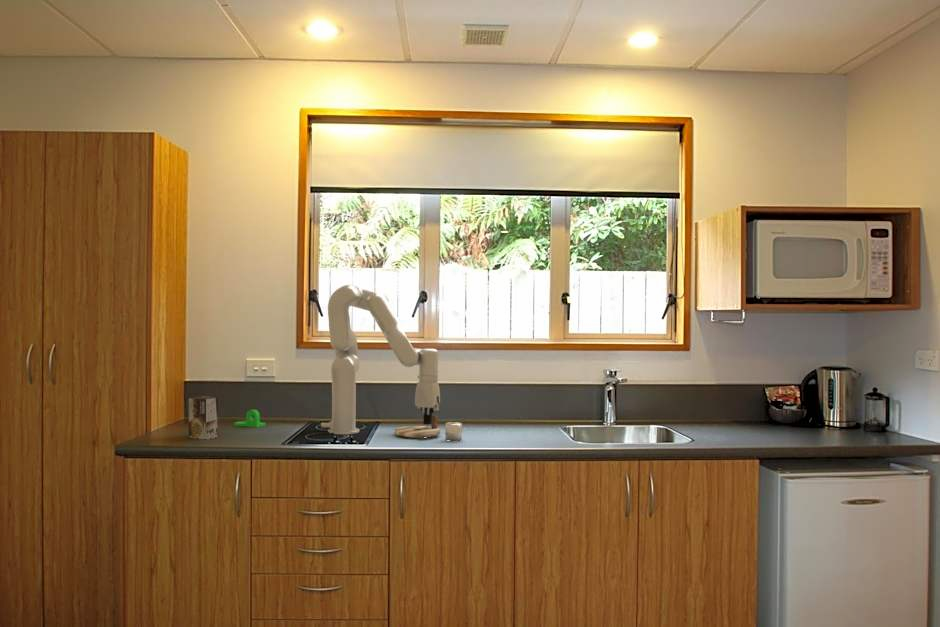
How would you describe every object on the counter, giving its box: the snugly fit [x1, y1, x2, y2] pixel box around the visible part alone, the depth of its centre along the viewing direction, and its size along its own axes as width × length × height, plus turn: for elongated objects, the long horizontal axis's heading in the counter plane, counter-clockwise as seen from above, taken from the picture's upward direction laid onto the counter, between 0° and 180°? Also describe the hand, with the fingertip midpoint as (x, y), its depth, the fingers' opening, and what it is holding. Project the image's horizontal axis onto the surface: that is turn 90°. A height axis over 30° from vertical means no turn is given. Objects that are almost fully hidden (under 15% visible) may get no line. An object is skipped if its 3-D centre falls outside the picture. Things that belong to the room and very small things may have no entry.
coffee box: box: [188, 395, 219, 440], centre depth 274 cm, size 9×6×16 cm
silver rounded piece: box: [444, 421, 463, 442], centre depth 276 cm, size 6×6×7 cm
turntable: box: [394, 414, 441, 438], centre depth 285 cm, size 18×18×6 cm
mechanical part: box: [233, 409, 267, 428], centre depth 304 cm, size 12×6×8 cm, turn 68°
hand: (427, 423), depth 291 cm, fingers closed
